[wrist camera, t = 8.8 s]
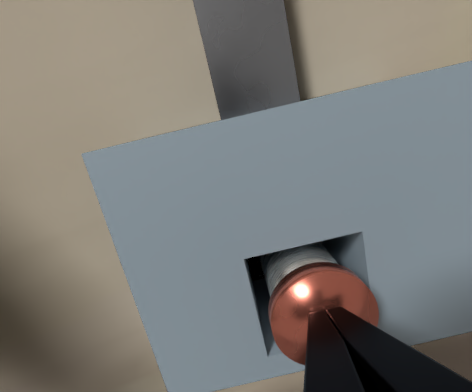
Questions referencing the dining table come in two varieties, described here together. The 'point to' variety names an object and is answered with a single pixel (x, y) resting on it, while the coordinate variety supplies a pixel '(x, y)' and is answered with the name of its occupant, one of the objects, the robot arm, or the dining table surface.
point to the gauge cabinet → (295, 219)
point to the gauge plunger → (310, 293)
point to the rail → (248, 54)
